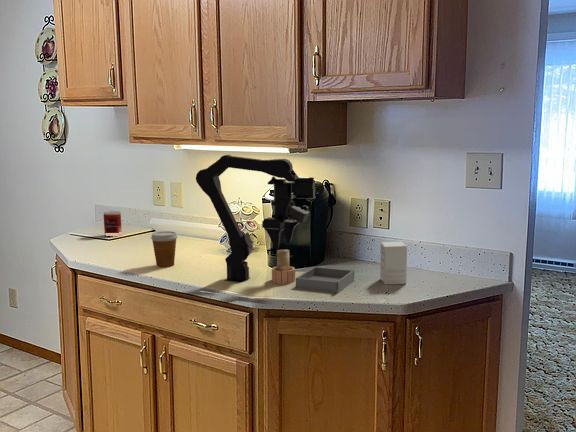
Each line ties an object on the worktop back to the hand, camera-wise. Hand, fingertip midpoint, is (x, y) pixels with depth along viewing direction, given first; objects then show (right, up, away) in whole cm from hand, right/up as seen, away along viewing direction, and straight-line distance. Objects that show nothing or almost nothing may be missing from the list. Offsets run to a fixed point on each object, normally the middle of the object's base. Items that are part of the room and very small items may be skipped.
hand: (282, 245), depth 201 cm
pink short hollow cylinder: (0, -12, +2) cm, 12 cm away
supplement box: (+36, -12, +1) cm, 38 cm away
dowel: (0, -11, +2) cm, 12 cm away
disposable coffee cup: (-44, -9, +27) cm, 52 cm away
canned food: (-79, 0, +86) cm, 117 cm away
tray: (+14, -12, -2) cm, 19 cm away
